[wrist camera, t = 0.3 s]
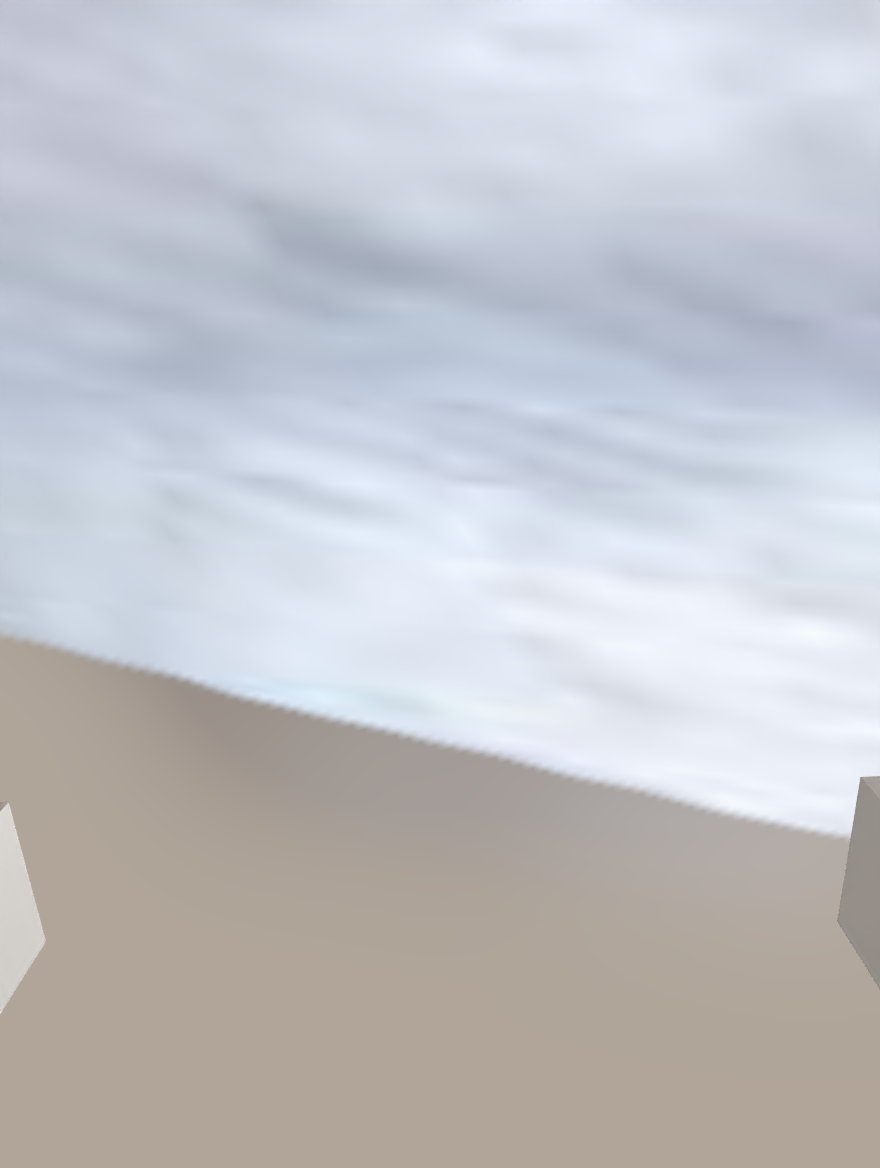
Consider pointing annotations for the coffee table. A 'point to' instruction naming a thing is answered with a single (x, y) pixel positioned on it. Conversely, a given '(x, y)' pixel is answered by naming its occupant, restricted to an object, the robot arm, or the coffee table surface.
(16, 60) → the coffee table surface
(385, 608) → the coffee table surface
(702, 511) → the coffee table surface
